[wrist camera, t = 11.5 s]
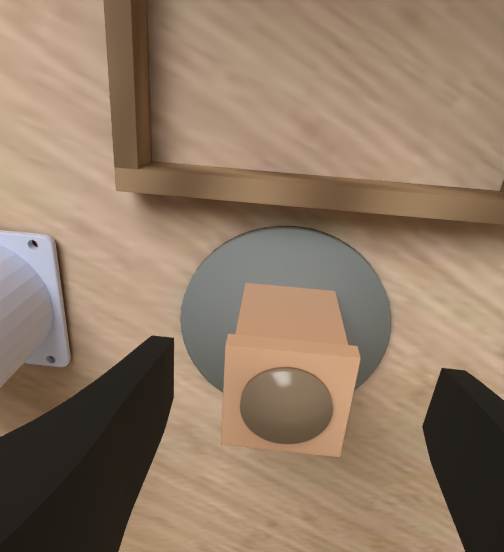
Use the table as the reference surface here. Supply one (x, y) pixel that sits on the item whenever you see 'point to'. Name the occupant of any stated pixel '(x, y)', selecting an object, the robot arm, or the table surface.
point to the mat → (290, 273)
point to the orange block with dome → (288, 372)
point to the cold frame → (249, 183)
